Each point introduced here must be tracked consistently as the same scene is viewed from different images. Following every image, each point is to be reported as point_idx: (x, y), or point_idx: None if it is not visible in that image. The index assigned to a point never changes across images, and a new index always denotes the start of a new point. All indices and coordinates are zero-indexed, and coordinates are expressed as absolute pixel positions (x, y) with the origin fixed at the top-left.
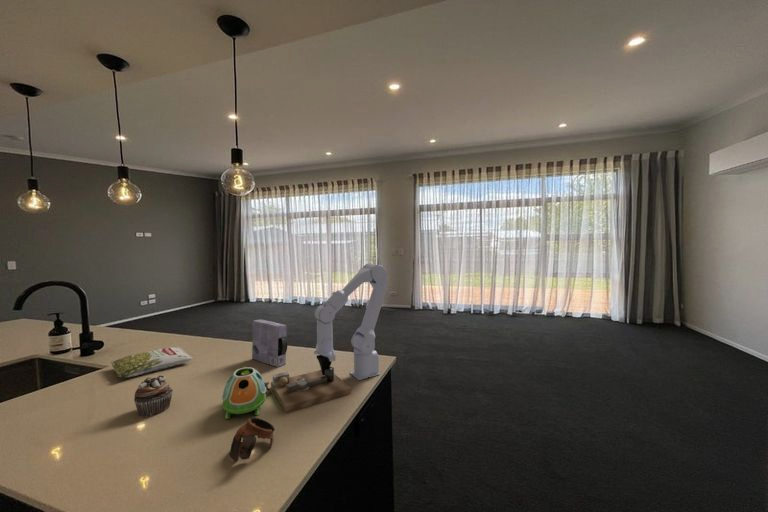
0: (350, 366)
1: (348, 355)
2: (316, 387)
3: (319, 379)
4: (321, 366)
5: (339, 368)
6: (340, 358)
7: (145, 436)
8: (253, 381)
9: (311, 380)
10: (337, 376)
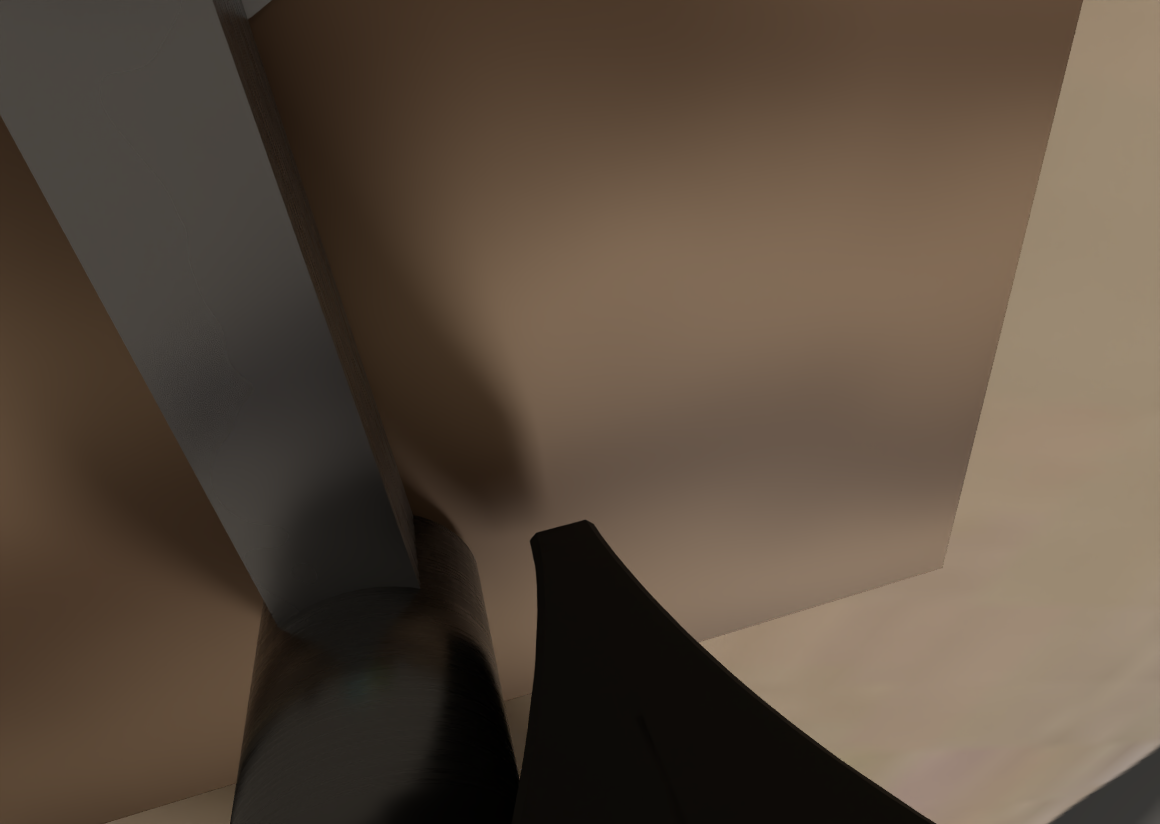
0: (876, 739)
1: (1142, 716)
2: (20, 271)
3: (205, 452)
4: (589, 738)
5: (917, 639)
6: (1153, 650)
7: None
8: None
9: (170, 189)
10: (525, 692)
